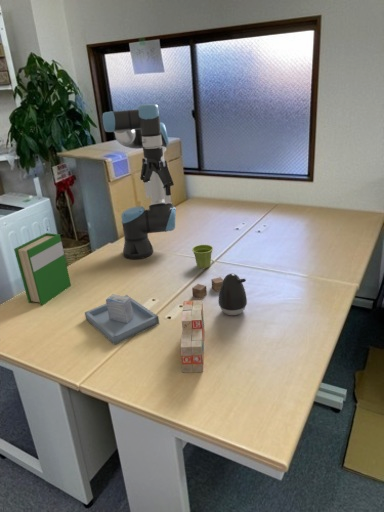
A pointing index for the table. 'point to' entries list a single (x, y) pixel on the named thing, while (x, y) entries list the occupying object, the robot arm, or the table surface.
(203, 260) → the plant pot
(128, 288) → the table surface
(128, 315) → the medicine box
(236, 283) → the pump dispenser
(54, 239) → the hardback book
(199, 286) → the walnut block
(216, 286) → the walnut block
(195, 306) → the stack of blocks
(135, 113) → the robot arm
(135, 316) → the tray
